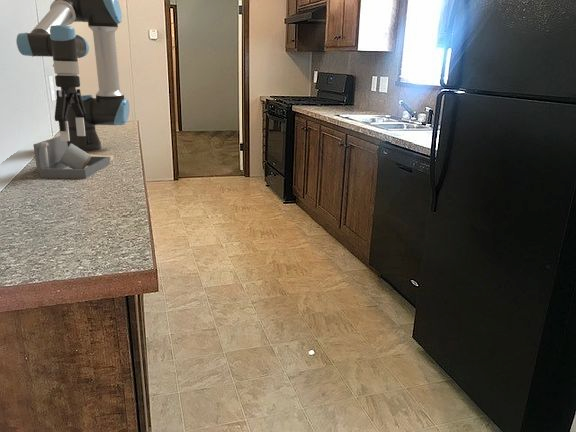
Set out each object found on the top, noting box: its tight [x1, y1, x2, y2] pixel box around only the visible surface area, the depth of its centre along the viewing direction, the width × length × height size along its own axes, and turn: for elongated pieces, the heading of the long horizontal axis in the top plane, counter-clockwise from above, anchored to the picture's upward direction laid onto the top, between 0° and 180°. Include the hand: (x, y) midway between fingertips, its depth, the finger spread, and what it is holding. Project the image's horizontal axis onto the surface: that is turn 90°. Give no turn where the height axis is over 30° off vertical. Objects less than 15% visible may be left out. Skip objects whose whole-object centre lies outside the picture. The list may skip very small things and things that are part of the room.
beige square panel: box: [88, 153, 117, 161], centre depth 187 cm, size 14×14×1 cm
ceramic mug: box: [60, 144, 91, 169], centre depth 166 cm, size 11×8×8 cm
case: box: [32, 135, 111, 180], centre depth 166 cm, size 24×16×11 cm, turn 1°
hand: (73, 138), depth 164 cm, fingers open, 13 cm apart
